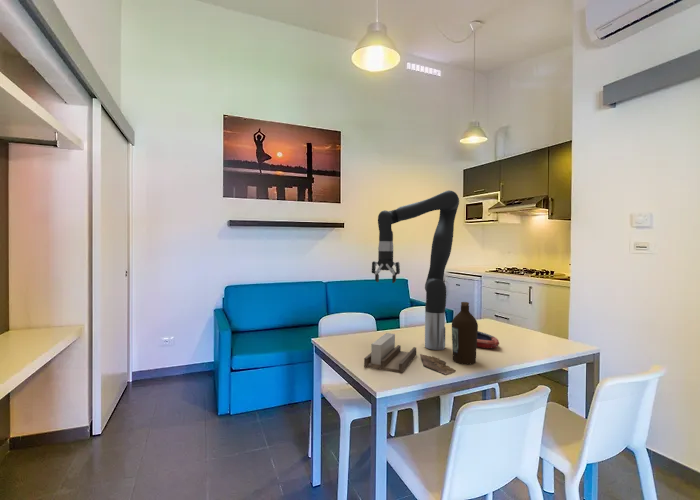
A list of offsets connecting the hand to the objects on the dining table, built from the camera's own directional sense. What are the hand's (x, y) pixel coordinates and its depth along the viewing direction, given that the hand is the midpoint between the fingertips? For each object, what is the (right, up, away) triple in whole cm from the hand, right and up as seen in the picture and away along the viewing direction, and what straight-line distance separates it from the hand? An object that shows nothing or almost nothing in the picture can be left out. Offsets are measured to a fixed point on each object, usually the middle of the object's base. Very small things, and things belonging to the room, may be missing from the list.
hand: (385, 282), depth 180 cm
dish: (+45, -31, 0) cm, 55 cm away
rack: (0, -31, -30) cm, 43 cm away
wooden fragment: (+17, -31, -33) cm, 49 cm away
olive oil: (+30, -31, -29) cm, 52 cm away
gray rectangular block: (-4, -29, -29) cm, 41 cm away
